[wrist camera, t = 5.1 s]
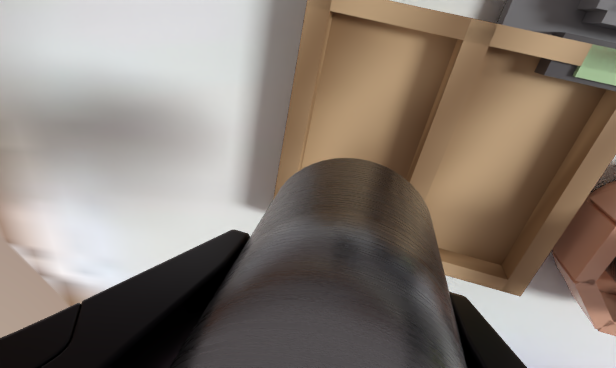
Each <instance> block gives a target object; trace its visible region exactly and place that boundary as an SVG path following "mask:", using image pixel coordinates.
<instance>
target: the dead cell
mask: <svg viewBox="0 0 616 368" xmlns="http://www.w3.org/2000/svg"><path fill="white" fill-rule="evenodd" d="M605 271H606V272H607V273H608V274H609V275H610V276H611V277H612V279H613V280H614V281H615V282H616V257H615V258H614V259H613V261H612V262H611V263H610V264H609V266H608V267H607V268H606V269H605Z"/></svg>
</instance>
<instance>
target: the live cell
mask: <svg viewBox="0 0 616 368" xmlns="http://www.w3.org/2000/svg"><path fill="white" fill-rule="evenodd" d="M169 368H467V365H466V361H465V357H464V353H463V349H462V344H461V340H460V336H459V332H458V328H457V323H456V319H455V315H454V311H453V307H452V302H451V298H450V294H449V290H448V286H447V281H446V277H445V273H444V269H443V265H442V260H441V256H440V252H439V248H438V244H437V239H436V235H435V231H434V227H433V223H432V219H431V215H430V212H429V209H428V207H427V205H426V203H425V201H424V199H423V198H422V196H421V195H420V194H419V192H418V191H417V190H416V189H415V188H414V186H413V185H412V184H411V183H410V182H408V181H407V180H406V179H405V178H404V177H402V176H401V175H399V174H398V173H396V172H395V171H393V170H391V169H389V168H387V167H385V166H383V165H380V164H377V163H374V162H371V161H367V160H362V159H355V158H334V159H328V160H323V161H320V162H317V163H313V164H311V165H309V166H307V167H305V168H303V169H301V170H300V171H298V172H297V173H295V174H294V175H293V176H291V177H290V178H289V179H288V180H287V181H286V182H285V183H284V185H283V186H282V187H281V188H280V190H279V192H278V193H277V195H276V196H275V198H274V200H273V201H272V203H271V204H270V206H269V208H268V209H267V211H266V212H265V214H264V216H263V217H262V219H261V221H260V222H259V224H258V225H257V227H256V229H255V230H254V232H253V233H252V235H251V237H250V238H249V240H248V241H247V243H246V245H245V246H244V248H243V249H242V251H241V253H240V254H239V256H238V258H237V259H236V261H235V262H234V264H233V266H232V267H231V269H230V270H229V272H228V274H227V275H226V277H225V278H224V280H223V282H222V283H221V285H220V286H219V288H218V290H217V291H216V293H215V294H214V296H213V298H212V299H211V301H210V303H209V304H208V306H207V307H206V309H205V311H204V312H203V314H202V315H201V317H200V319H199V320H198V322H197V323H196V325H195V327H194V328H193V330H192V331H191V333H190V335H189V336H188V338H187V340H186V341H185V343H184V344H183V346H182V348H181V349H180V351H179V352H178V354H177V356H176V357H175V359H174V360H173V362H172V364H171V365H170V367H169Z"/></svg>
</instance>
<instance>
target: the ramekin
mask: <svg viewBox="0 0 616 368" xmlns="http://www.w3.org/2000/svg"><path fill="white" fill-rule="evenodd" d="M552 254H553V256H554V260H555V263H556V265H557V268H558V269H559V271H560V273H561V274H562V276H563V277H564V279H565V282H566V284H567V286H568V288H569V290H570V292H571V294H572V296H573V297H574V298H575V300H576V301H577V303H578V304H579V306H580V307H581V309H582V310H583V312H584V313H585V314H586V316H587V317H588V319H589V320H590V322H591V323H592V325H593V326H594V327H595V329H598V331H600V332H603V333H607V334H610V335H614V336H616V282H615V281H614V280H613V279H612V277H611V276H610V275H609V274H608V273H607V272H606V271H605V269H606V268H607V267H608V266H609V264H610V263H611V262H612V261H613V259H614V258H615V257H616V180H615V181H613V182H610V183H608V184H606V185H604V186H602V187H600V188H598V189H597V190H595V191H593V192H592V193H590V194H589V195H588V197H587V198H586V200H585V201H584V203H583V204H582V206H581V207H580V209H579V210H578V211H577V213H576V214H575V216H574V217H573V219H572V220H571V222H570V223H569V225H568V226H567V228H566V229H565V231H564V232H563V234H562V235H561V237H560V238H559V240H558V241H557V243H556V244H555V246H554V247H553V253H552Z"/></svg>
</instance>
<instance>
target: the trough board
mask: <svg viewBox="0 0 616 368" xmlns="http://www.w3.org/2000/svg"><path fill="white" fill-rule="evenodd" d="M592 45H593V44H589V43H585V42H580V41H575V40H571V39H566V38H561V37H557V36H552V35H547V34H543V33H538V32H533V31H529V30H524V29H519V28H515V27H510V26H505V25H501V24H496V23H491V22H487V21H482V20H477V19H473V18H468V17H463V16H459V15H454V14H449V13H445V12H440V11H435V10H431V9H426V8H421V7H417V6H412V5H407V4H403V3H398V2H393V1H389V0H307V5H306V11H305V17H304V22H303V28H302V34H301V40H300V46H299V52H298V58H297V64H296V69H295V75H294V81H293V87H292V93H291V99H290V105H289V111H288V116H287V122H286V128H285V134H284V140H283V146H282V152H281V158H280V163H279V169H278V175H277V181H276V187H275V193H274V198H275V196H276V195H277V193H278V192H279V190H280V188H281V187H282V186H283V185H284V183H285V182H286V181H287V180H288V179H289V178H290V177H291V176H293V175H294V174H295V173H297V172H298V171H300V170H301V169H303V168H305V167H307V166H309V165H311V164H313V163H317V162H320V161H323V160H328V159H334V158H355V159H362V160H367V161H371V162H374V163H377V164H380V165H383V166H385V167H387V168H389V169H391V170H393V171H395V172H396V173H398V174H399V175H401V176H402V177H404V178H405V179H406V180H407V181H408V182H410V183H411V184H412V185H413V186H414V188H415V189H416V190H417V191H418V192H419V194H420V195H421V196H422V198H423V199H424V201H425V203H426V205H427V207H428V209H429V212H430V215H431V219H432V223H433V227H434V231H435V235H436V239H437V244H438V248H439V252H440V256H441V260H442V265H443V269H444V273H445V275H447V276H450V277H454V278H457V279H461V280H464V281H468V282H471V283H475V284H479V285H482V286H486V287H489V288H493V289H496V290H500V291H503V292H507V293H510V294H514V295H517V296H521V295H522V293H523V292H524V290H525V289H526V287H527V286H528V284H529V283H530V281H531V280H532V278H533V277H534V275H535V274H536V272H537V271H538V269H539V268H540V267H541V265H542V264H543V262H544V261H545V259H546V258H547V256H548V255H549V253H550V252H551V250H552V249H553V247H554V246H555V244H556V243H557V241H558V240H559V238H560V237H561V235H562V234H563V232H564V231H565V229H566V228H567V226H568V225H569V223H570V222H571V220H572V219H573V217H574V216H575V214H576V213H577V211H578V210H579V209H580V207H581V206H582V204H583V203H584V201H585V200H586V198H587V197H588V195H589V194H590V192H591V191H592V189H593V188H594V186H595V185H596V183H597V182H598V180H599V179H600V177H601V176H602V174H603V173H604V171H605V170H606V168H607V167H608V165H609V164H610V162H611V161H612V159H613V158H614V156H615V155H616V91H612V90H607V89H603V88H598V87H594V86H589V85H585V84H580V83H576V82H572V81H567V80H563V79H558V78H554V77H549V76H545V75H542V74H539V73H536V72H534V71H535V69H536V67H537V65H538V63H539V61H540V59H541V58H546V59H550V60H555V61H560V62H564V63H569V64H573V65H578V66H581V65H583V64H584V63H585V62H584V63H583V61H584V59H586V56H587V55H588V52H589V50H590V49H591V47H592V50H593V49H594V48H595V46H594V45H593V46H594V48H593V46H592ZM597 47H598V48H599V50H598V48H597ZM597 47H596V48H597V49H596V48H595V51H596V52H593V51H592V52H593V54H595V53H596V56H597V57H598V55H599V54H600V56H601V54H603V52H605V50H604V49H605V48H607V47H603V46H601V47H603V51H602V50H601V48H600V47H599V45H597ZM612 49H613V48H612ZM505 50H506V51H505ZM597 50H598V51H597ZM600 50H601V52H602V53H601V52H600ZM608 50H609V49H608ZM610 50H611V48H610ZM610 50H609V51H610ZM606 51H607V50H606ZM609 51H608V52H607V53H606V54H607V55H609V54H610V53H611V54H610V55H612V52H613V51H615V50H612V52H610V53H609ZM592 52H591V51H590V53H591V54H592ZM597 53H598V55H597ZM591 54H590V55H591ZM613 54H614V57H615V52H614V53H613ZM607 55H605V54H604V55H603V56H605V57H603V56H601V58H600V56H599V59H600V61H601V59H602V58H605V60H606V59H607V58H608V57H609V56H608V57H607ZM591 56H593V55H591ZM612 56H613V55H612ZM612 56H610V57H612ZM497 57H498V58H497ZM528 57H529V58H528ZM587 57H588V56H587ZM594 57H595V56H594ZM597 57H596V59H598V58H597ZM606 57H607V58H606ZM610 57H609V58H610ZM614 57H612V58H614ZM590 58H591V57H589V60H590ZM612 58H610V59H611V60H612ZM497 59H498V60H497ZM534 59H535V60H534ZM592 59H594V58H593V57H592ZM615 59H616V58H615ZM490 60H491V61H490ZM586 60H587V59H586ZM603 60H604V59H603ZM603 60H602V61H603ZM594 61H595V59H594ZM600 61H598V60H597V62H598V63H600ZM602 61H601V63H602ZM608 61H609V60H608ZM589 62H590V61H589ZM589 62H588V64H589ZM592 62H593V61H592ZM592 62H591V63H592ZM595 62H596V61H595ZM612 62H614V61H612ZM582 63H583V64H582ZM591 63H590V64H591ZM598 63H596V64H597V66H598ZM604 63H605V62H604ZM610 63H611V62H610ZM615 63H616V62H615ZM513 64H514V65H513ZM590 64H589V65H586V67H587V66H591V65H592V64H591V65H590ZM607 64H608V63H607ZM593 65H594V64H593ZM593 65H592V67H593ZM597 66H594V67H595V68H597ZM609 66H610V65H609ZM611 66H612V64H611ZM584 67H585V66H584ZM592 67H591V68H592ZM615 67H616V66H615ZM588 68H589V67H588ZM601 68H602V67H601ZM599 69H600V68H599ZM607 69H608V68H607ZM610 69H611V68H610ZM596 70H597V69H596ZM615 70H616V69H615ZM601 71H602V70H601ZM608 71H609V70H608ZM611 71H612V70H611ZM612 72H613V71H612ZM610 73H611V72H610ZM489 74H490V75H489ZM505 79H506V80H505ZM564 83H565V84H564ZM273 200H274V199H273Z"/></svg>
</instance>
